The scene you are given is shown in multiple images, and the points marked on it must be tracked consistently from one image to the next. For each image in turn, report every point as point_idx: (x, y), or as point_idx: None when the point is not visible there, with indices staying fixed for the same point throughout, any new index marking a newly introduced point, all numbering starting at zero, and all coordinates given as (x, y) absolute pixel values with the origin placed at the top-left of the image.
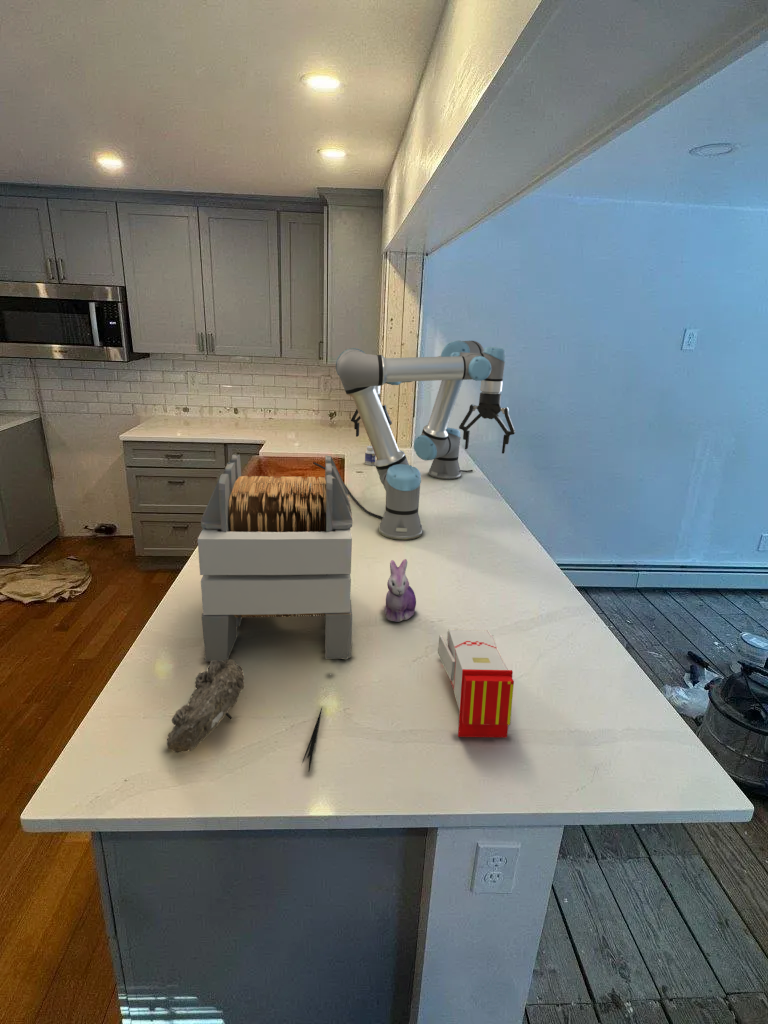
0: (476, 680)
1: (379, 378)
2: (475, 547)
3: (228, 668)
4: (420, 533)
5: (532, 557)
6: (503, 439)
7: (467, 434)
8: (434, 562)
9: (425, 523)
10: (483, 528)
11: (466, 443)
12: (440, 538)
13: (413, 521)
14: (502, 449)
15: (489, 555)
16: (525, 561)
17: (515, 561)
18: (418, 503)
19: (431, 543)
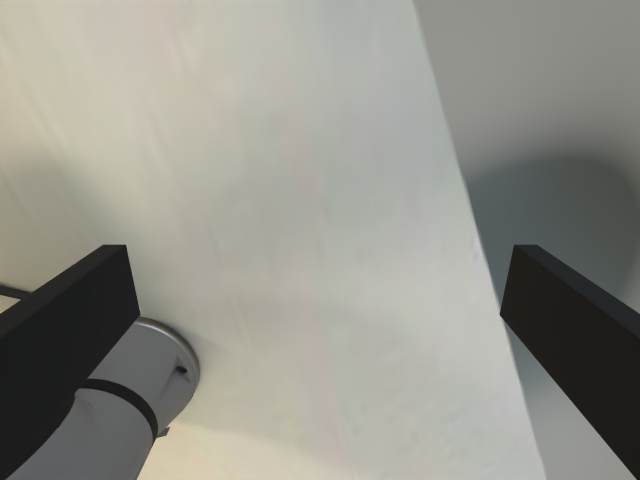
0: None
1: None
2: (351, 380)
3: None
4: (197, 379)
5: (493, 383)
6: (606, 440)
7: (9, 457)
8: (280, 473)
9: (172, 278)
10: (353, 246)
11: (96, 353)
12: (252, 362)
13: (167, 425)
14: (524, 341)
15: (389, 408)
16: (474, 408)
17: (451, 415)
18: (144, 444)
19: (241, 397)
